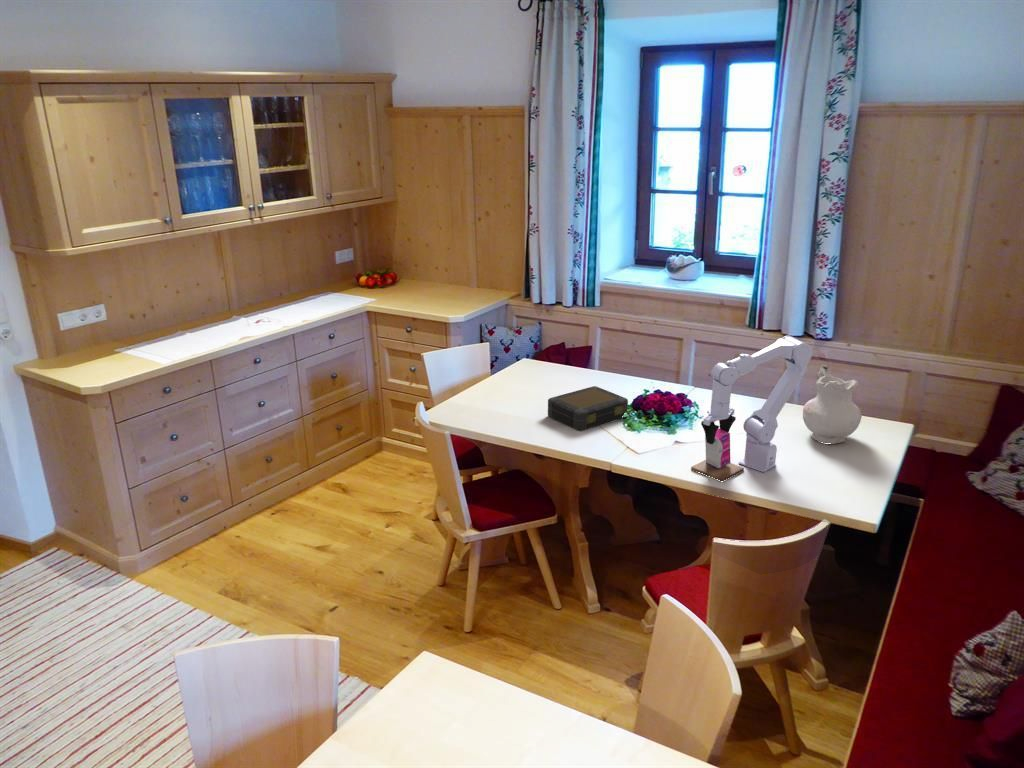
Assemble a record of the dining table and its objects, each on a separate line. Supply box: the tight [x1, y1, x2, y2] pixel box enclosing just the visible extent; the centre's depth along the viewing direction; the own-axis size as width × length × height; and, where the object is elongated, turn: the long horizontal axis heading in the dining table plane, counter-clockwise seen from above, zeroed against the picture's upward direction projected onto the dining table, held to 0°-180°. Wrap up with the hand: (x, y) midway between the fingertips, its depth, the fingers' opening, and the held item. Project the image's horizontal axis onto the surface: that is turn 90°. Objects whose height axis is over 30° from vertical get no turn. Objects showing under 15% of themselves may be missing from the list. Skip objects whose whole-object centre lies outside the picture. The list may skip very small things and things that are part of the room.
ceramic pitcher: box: [802, 363, 863, 445], centre depth 279 cm, size 22×20×25 cm
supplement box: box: [704, 427, 731, 469], centre depth 257 cm, size 6×6×12 cm
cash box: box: [547, 385, 629, 432], centre depth 302 cm, size 25×20×8 cm
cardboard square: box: [690, 459, 745, 482], centre depth 258 cm, size 12×12×2 cm
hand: (716, 440), depth 255 cm, fingers open, 7 cm apart
